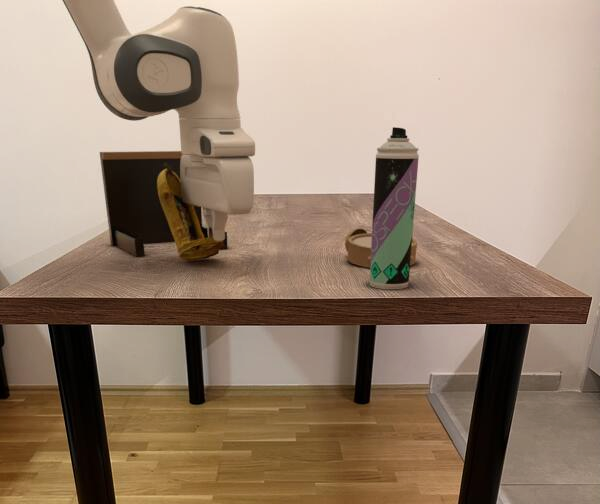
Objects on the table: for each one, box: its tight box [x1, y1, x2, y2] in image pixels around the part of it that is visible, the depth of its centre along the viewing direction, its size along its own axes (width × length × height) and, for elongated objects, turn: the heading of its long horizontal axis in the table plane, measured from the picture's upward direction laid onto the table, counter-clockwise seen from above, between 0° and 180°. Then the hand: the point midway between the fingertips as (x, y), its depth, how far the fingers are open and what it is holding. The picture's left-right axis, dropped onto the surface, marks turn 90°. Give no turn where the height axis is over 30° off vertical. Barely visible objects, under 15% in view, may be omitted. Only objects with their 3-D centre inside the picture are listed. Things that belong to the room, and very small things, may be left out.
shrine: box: [157, 163, 224, 261], centre depth 101 cm, size 12×8×15 cm
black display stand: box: [99, 150, 229, 258], centre depth 114 cm, size 18×14×16 cm
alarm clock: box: [344, 228, 418, 269], centre depth 106 cm, size 11×5×15 cm
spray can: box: [369, 126, 420, 290], centre depth 85 cm, size 6×6×20 cm
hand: (216, 239), depth 99 cm, fingers closed
